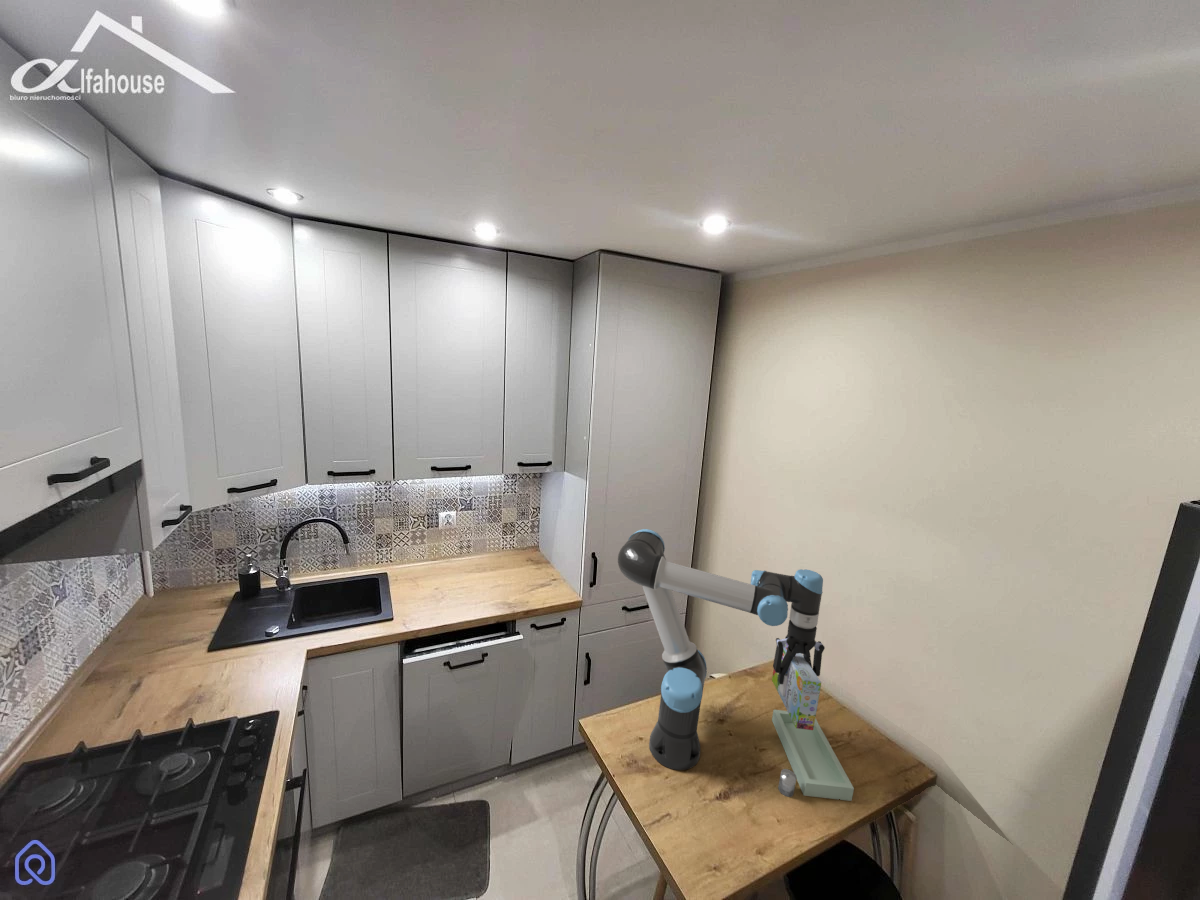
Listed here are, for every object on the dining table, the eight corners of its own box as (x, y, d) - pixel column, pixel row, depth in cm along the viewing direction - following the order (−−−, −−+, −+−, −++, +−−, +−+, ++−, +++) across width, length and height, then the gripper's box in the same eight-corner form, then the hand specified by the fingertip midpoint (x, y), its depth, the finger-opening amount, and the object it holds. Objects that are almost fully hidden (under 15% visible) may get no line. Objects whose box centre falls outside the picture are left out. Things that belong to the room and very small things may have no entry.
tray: (803, 795, 128) (805, 783, 128) (771, 720, 156) (773, 709, 155) (851, 800, 128) (854, 788, 127) (811, 724, 155) (812, 713, 155)
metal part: (781, 796, 128) (783, 780, 127) (776, 783, 132) (779, 768, 131) (795, 797, 127) (798, 782, 127) (790, 784, 131) (793, 769, 131)
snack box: (815, 731, 130) (822, 682, 128) (795, 729, 130) (802, 681, 128) (787, 681, 151) (793, 638, 149) (770, 680, 151) (775, 637, 149)
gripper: (774, 627, 133) (765, 699, 137) (841, 632, 132) (829, 705, 136) (766, 613, 140) (758, 682, 144) (829, 618, 140) (819, 688, 143)
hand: (792, 693), depth 140 cm, fingers closed on snack box, 6 cm apart
